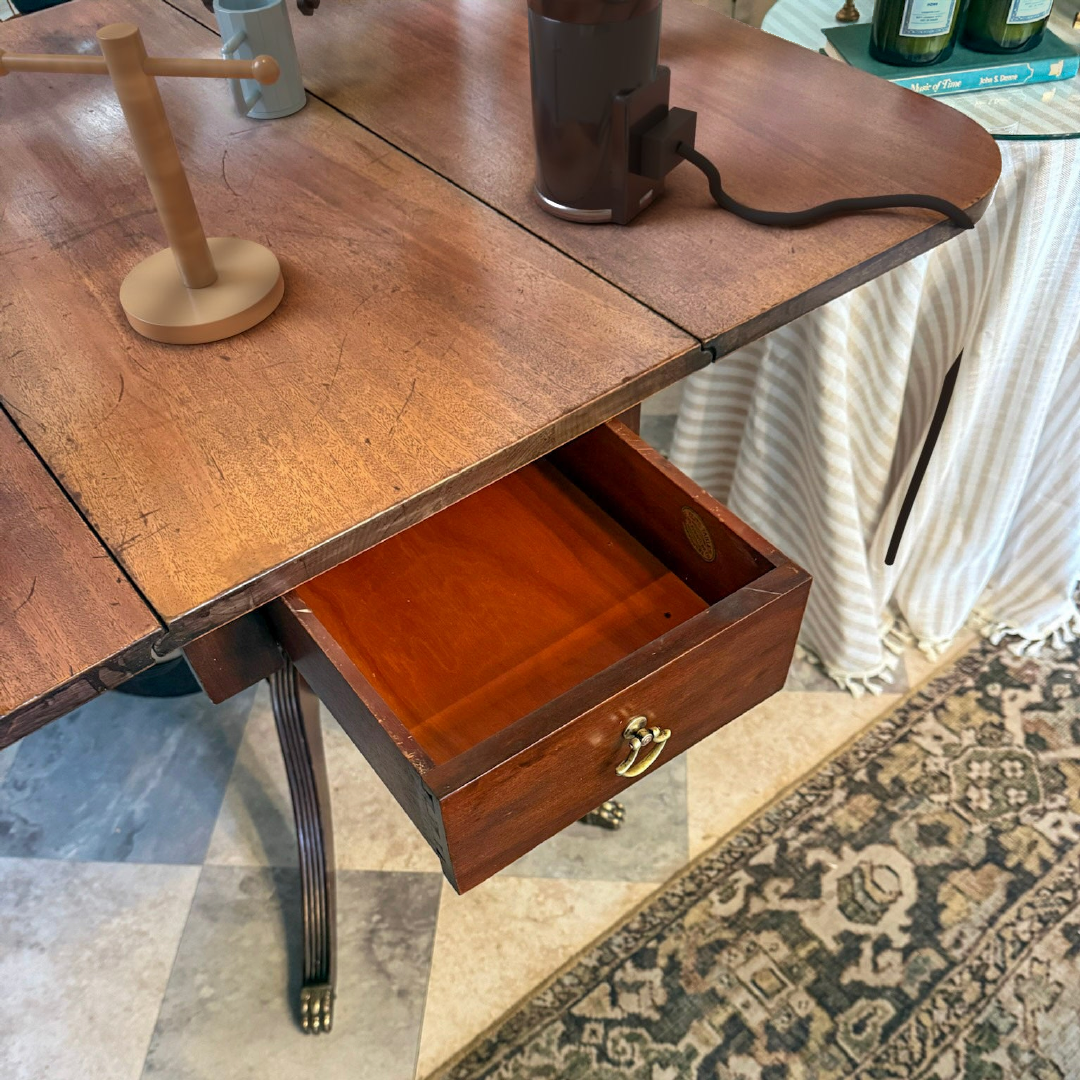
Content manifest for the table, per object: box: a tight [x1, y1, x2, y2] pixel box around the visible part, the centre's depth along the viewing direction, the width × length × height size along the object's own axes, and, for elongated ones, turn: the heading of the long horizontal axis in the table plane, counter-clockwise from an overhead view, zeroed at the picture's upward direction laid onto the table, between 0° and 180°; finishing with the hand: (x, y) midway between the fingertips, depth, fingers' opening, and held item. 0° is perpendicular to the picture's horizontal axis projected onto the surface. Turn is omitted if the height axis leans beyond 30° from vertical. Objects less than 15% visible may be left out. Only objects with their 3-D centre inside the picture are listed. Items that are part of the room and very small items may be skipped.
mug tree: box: [0, 22, 285, 345], centre depth 64 cm, size 19×11×18 cm, turn 81°
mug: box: [213, 0, 307, 120], centre depth 87 cm, size 10×6×9 cm, turn 171°
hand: (258, 10), depth 87 cm, fingers open, 8 cm apart
